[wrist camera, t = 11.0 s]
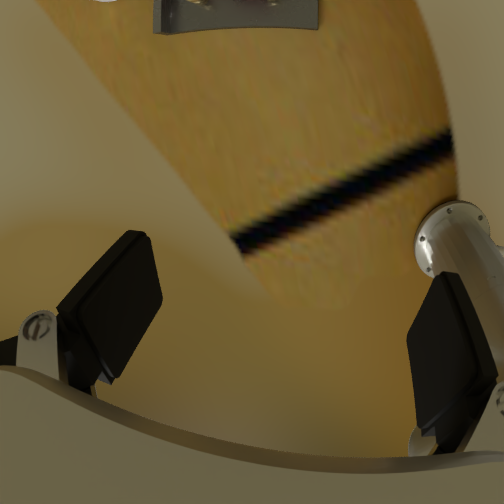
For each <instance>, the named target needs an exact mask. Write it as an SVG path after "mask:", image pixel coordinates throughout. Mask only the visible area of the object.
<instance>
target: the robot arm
mask: <svg viewBox="0 0 504 504" xmlns="http://www.w3.org/2000/svg"><path fill="white" fill-rule="evenodd" d="M414 253H415V258H416V260H417V263H418V265H419V266H420V268H421V270H422V271H423V272H424V273H426V274H427V275H429V276H430V277H433V278H434V279H433V281H432V284H431V286H430V288H429V291H428V293H427V295H426V297H425V299H424V301H423V304H422V305H421V308H420V310H419V312H418V314H417V316H416V318H415V320H414V322H413V324H412V325H411V327H410V329H409V331H408V334H407V348H408V354H409V360H410V366H411V373H412V381H413V389H414V398H415V408H416V419H417V425H416V427H415V428H414V430H413V432H412V433H411V437H410V440H409V445H408V455H409V457H392V458H390V457H389V458H357V457H355V458H354V457H334V456H321V455H310V454H300V453H291V452H284V451H277V450H270V449H264V448H259V447H253V446H247V445H243V444H237V443H233V442H228V441H224V440H219V439H216V438H211V437H207V436H203V435H200V434H196V433H193V432H189V431H186V430H182V429H179V428H175V427H172V426H169V425H166V424H163V423H160V422H156V421H154V420H151V419H148V418H145V417H142V416H140V415H137V414H134V413H132V412H129V411H126V410H123V409H121V408H119V407H116V406H114V405H112V404H109V403H107V402H105V401H102V400H100V399H98V398H97V393H96V388H95V382H96V380H97V379H99V380H100V381H103V382H105V383H108V384H110V385H112V383H113V381H114V379H115V378H118V377H120V375H121V373H122V372H123V370H124V368H125V366H126V365H127V362H128V361H129V359H130V357H131V356H132V354H133V352H134V351H135V349H136V347H137V345H138V344H139V342H140V340H141V339H142V337H143V335H144V334H145V332H146V330H147V328H148V327H149V325H150V323H151V322H152V320H153V318H154V317H155V315H156V313H157V312H158V310H159V308H160V307H161V305H162V301H163V296H162V292H161V287H160V283H159V278H158V275H157V269H156V265H155V260H154V255H153V250H152V245H151V240H150V238H149V237H148V236H147V235H146V233H145V232H143V231H134V230H128V231H126V232H125V233H124V234H123V235H122V236H121V237H120V238H119V239H118V240H117V241H116V242H115V243H114V244H113V245H112V246H111V247H110V248H109V249H108V251H107V252H106V253H105V254H104V255H103V256H102V257H101V258H100V259H99V260H98V261H97V262H96V263H95V264H94V265H93V266H92V267H91V269H90V270H89V271H88V272H87V273H86V274H85V275H84V276H83V277H82V278H81V279H80V281H79V282H78V283H77V284H76V285H75V286H74V287H73V288H72V290H71V291H70V292H69V293H68V294H67V295H66V297H65V298H64V299H63V300H62V301H61V302H60V304H59V305H58V306H57V307H56V308H57V310H58V312H59V314H58V315H57V316H55V315H54V314H53V313H52V312H50V311H48V310H40V311H37V312H34V313H32V314H31V315H29V316H28V317H27V318H26V319H25V320H24V321H23V323H22V324H21V326H20V329H19V334H18V336H15V337H12V338H9V339H6V340H4V341H1V342H0V504H504V257H503V255H504V247H502V246H498V245H497V246H496V245H495V243H494V242H493V241H492V239H491V238H490V227H489V223H488V220H487V219H486V216H485V215H484V214H483V212H482V211H481V210H480V209H479V208H478V207H477V206H475V205H474V204H472V203H470V202H466V201H451V202H447V203H444V204H442V205H440V206H438V207H437V208H435V209H434V210H432V211H431V212H430V213H429V214H428V215H427V216H426V217H425V219H424V220H423V221H422V223H421V224H420V226H419V228H418V230H417V233H416V236H415V240H414Z"/></svg>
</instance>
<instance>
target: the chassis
mask: <svg viewBox="0 0 504 504" xmlns="http://www.w3.org/2000/svg"><path fill="white" fill-rule="evenodd" d="M232 28H292V29H308V30H318V0H154V9H153V33H155V34H162V35H173V34H179V33H187V32H195V31H205V30H216V29H232Z"/></svg>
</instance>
